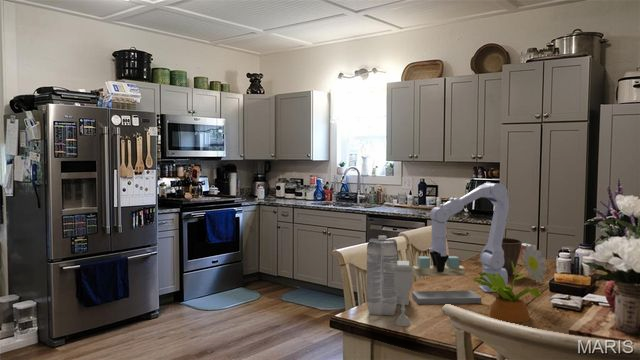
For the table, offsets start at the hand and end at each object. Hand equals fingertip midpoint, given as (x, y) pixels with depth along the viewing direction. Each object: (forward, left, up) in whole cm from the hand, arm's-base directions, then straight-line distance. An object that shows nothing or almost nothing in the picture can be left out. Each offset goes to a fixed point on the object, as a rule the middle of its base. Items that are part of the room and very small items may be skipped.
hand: (438, 270), depth 202 cm
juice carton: (+27, +25, -9) cm, 38 cm away
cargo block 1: (+6, 0, +1) cm, 6 cm away
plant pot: (-39, -29, -9) cm, 49 cm away
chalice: (+22, +37, -9) cm, 44 cm away
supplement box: (+19, +12, -9) cm, 24 cm away
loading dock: (0, +11, -9) cm, 14 cm away
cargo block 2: (-6, 0, +1) cm, 6 cm away
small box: (-58, -48, -9) cm, 76 cm away
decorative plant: (-15, +30, -9) cm, 35 cm away
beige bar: (0, 0, -2) cm, 2 cm away
